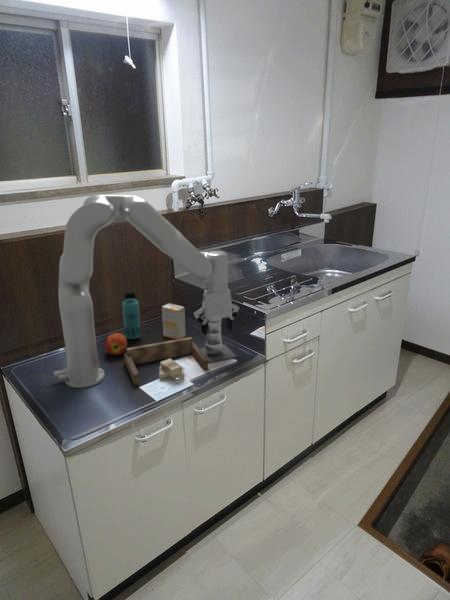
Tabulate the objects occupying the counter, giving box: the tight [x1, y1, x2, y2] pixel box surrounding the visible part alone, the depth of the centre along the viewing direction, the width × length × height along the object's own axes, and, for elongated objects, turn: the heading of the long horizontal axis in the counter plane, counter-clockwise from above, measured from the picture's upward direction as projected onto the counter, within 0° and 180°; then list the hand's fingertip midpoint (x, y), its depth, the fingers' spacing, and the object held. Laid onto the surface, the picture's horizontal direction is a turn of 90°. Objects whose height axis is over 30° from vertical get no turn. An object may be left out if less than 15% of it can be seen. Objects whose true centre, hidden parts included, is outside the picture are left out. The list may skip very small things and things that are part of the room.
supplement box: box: [161, 303, 187, 340], centre depth 169 cm, size 8×5×13 cm, turn 58°
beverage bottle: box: [121, 290, 141, 340], centre depth 165 cm, size 6×7×20 cm
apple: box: [104, 332, 128, 356], centre depth 156 cm, size 8×8×8 cm
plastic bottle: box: [204, 315, 223, 355], centre depth 153 cm, size 6×7×20 cm
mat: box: [199, 343, 237, 364], centre depth 157 cm, size 11×11×1 cm
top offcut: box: [159, 358, 183, 377], centre depth 141 cm, size 7×4×2 cm, turn 41°
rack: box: [123, 336, 210, 386], centre depth 147 cm, size 26×16×6 cm, turn 113°
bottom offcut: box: [158, 367, 185, 381], centre depth 142 cm, size 8×4×2 cm, turn 93°
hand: (216, 331), depth 154 cm, fingers open, 9 cm apart
